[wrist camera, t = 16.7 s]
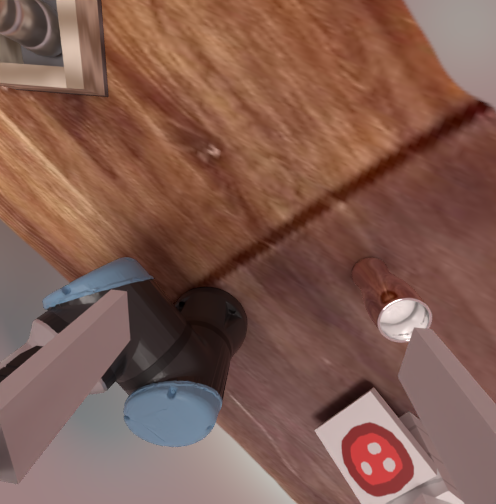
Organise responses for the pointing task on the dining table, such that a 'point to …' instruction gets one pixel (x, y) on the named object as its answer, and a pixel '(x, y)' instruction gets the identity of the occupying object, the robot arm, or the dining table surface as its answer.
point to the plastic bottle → (31, 26)
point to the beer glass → (390, 300)
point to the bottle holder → (62, 55)
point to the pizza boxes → (386, 455)
